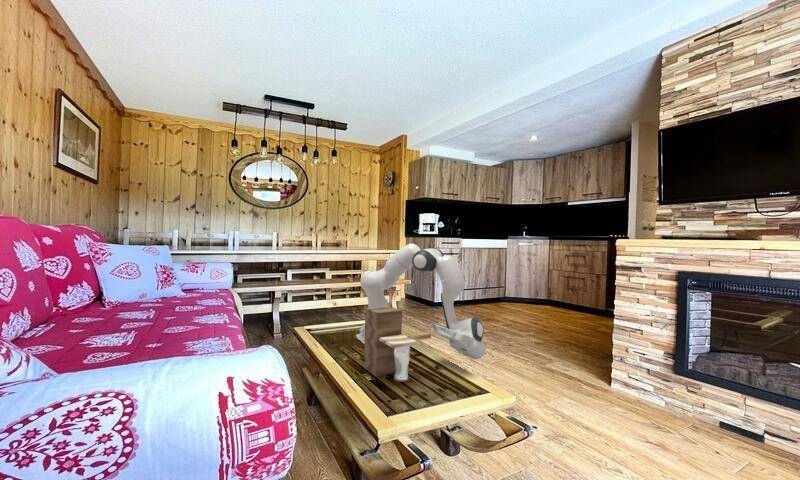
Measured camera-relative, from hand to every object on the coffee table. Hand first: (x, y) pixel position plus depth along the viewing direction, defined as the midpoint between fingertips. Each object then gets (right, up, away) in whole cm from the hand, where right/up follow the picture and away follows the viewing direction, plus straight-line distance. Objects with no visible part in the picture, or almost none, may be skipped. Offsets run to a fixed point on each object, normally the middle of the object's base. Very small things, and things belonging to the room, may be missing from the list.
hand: (438, 327), depth 148 cm
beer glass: (-16, -18, -10) cm, 27 cm away
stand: (-24, -18, -1) cm, 30 cm away
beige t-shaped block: (-13, -3, -8) cm, 16 cm away
